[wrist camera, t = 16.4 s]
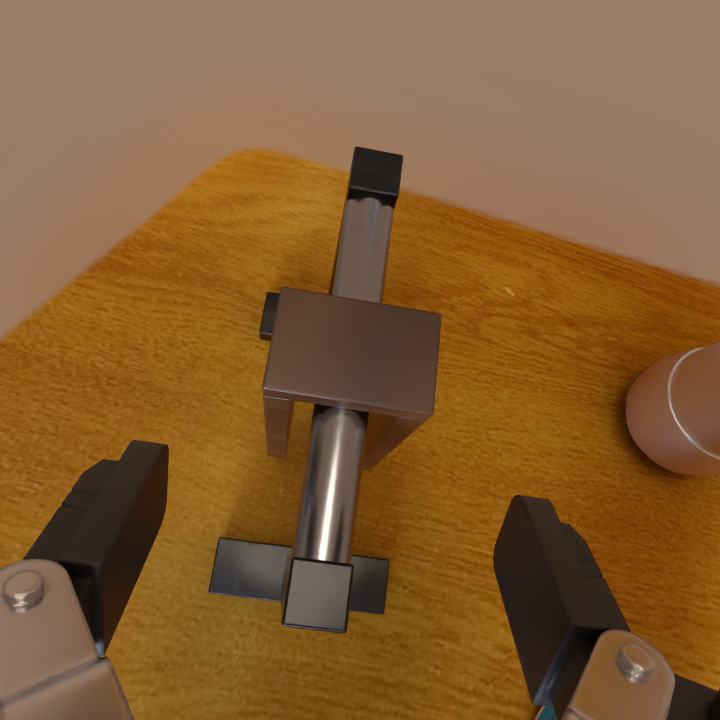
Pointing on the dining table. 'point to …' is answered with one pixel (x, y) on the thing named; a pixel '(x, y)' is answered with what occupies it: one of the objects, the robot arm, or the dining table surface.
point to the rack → (327, 447)
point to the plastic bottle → (679, 411)
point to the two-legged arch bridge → (351, 366)
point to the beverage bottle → (546, 713)
